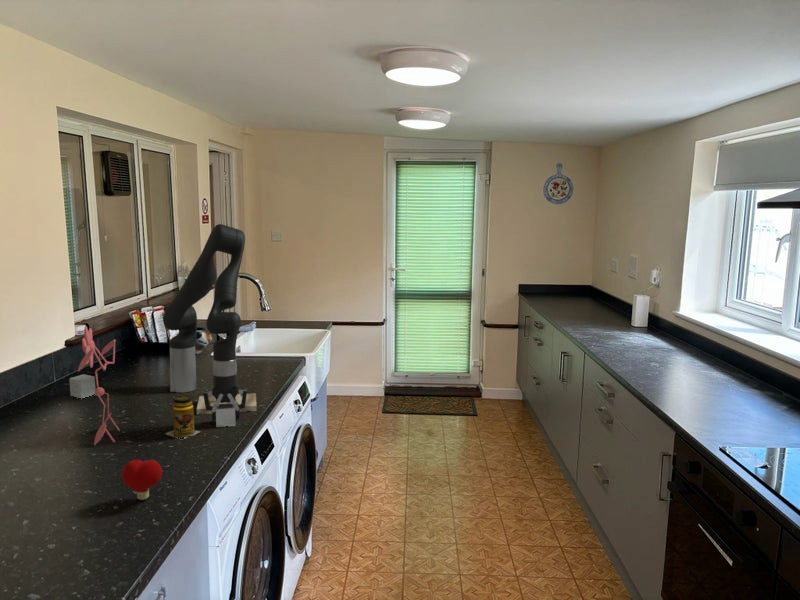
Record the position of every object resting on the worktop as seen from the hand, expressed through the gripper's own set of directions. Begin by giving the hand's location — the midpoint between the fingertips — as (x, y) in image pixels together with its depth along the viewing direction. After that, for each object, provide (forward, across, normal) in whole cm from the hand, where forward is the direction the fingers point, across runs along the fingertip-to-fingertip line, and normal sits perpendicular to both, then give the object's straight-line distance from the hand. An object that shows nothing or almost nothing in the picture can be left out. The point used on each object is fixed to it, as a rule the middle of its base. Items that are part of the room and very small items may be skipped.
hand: (226, 420), depth 191 cm
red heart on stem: (+1, +18, +48) cm, 51 cm away
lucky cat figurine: (+1, +18, -99) cm, 101 cm away
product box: (+1, +52, -38) cm, 64 cm away
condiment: (+1, +13, +6) cm, 14 cm away
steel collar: (+1, 0, 0) cm, 1 cm away
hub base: (+1, 0, -17) cm, 17 cm away
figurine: (+1, +39, +5) cm, 39 cm away
